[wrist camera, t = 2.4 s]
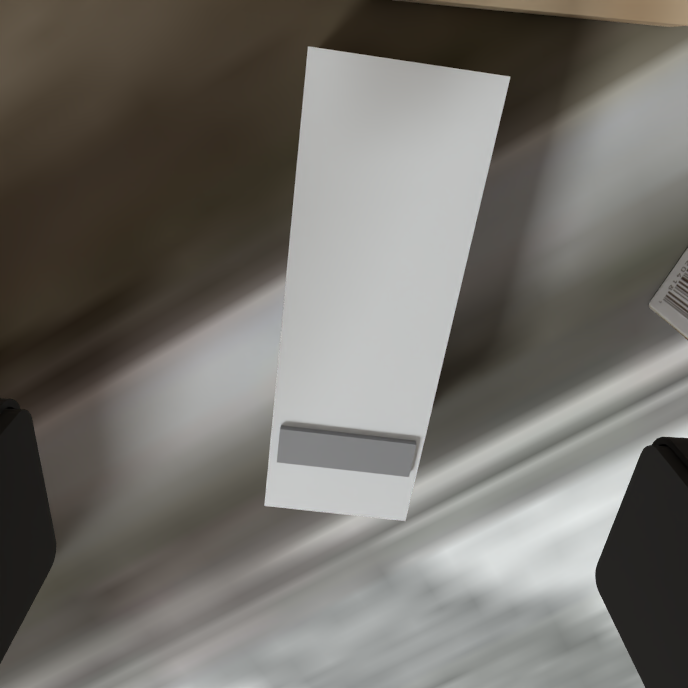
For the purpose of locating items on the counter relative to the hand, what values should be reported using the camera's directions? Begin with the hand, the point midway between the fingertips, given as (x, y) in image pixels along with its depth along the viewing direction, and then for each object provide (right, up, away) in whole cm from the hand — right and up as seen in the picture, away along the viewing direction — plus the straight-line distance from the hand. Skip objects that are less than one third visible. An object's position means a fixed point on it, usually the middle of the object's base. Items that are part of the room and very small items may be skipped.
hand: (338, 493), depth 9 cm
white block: (+1, +5, +11) cm, 12 cm away
